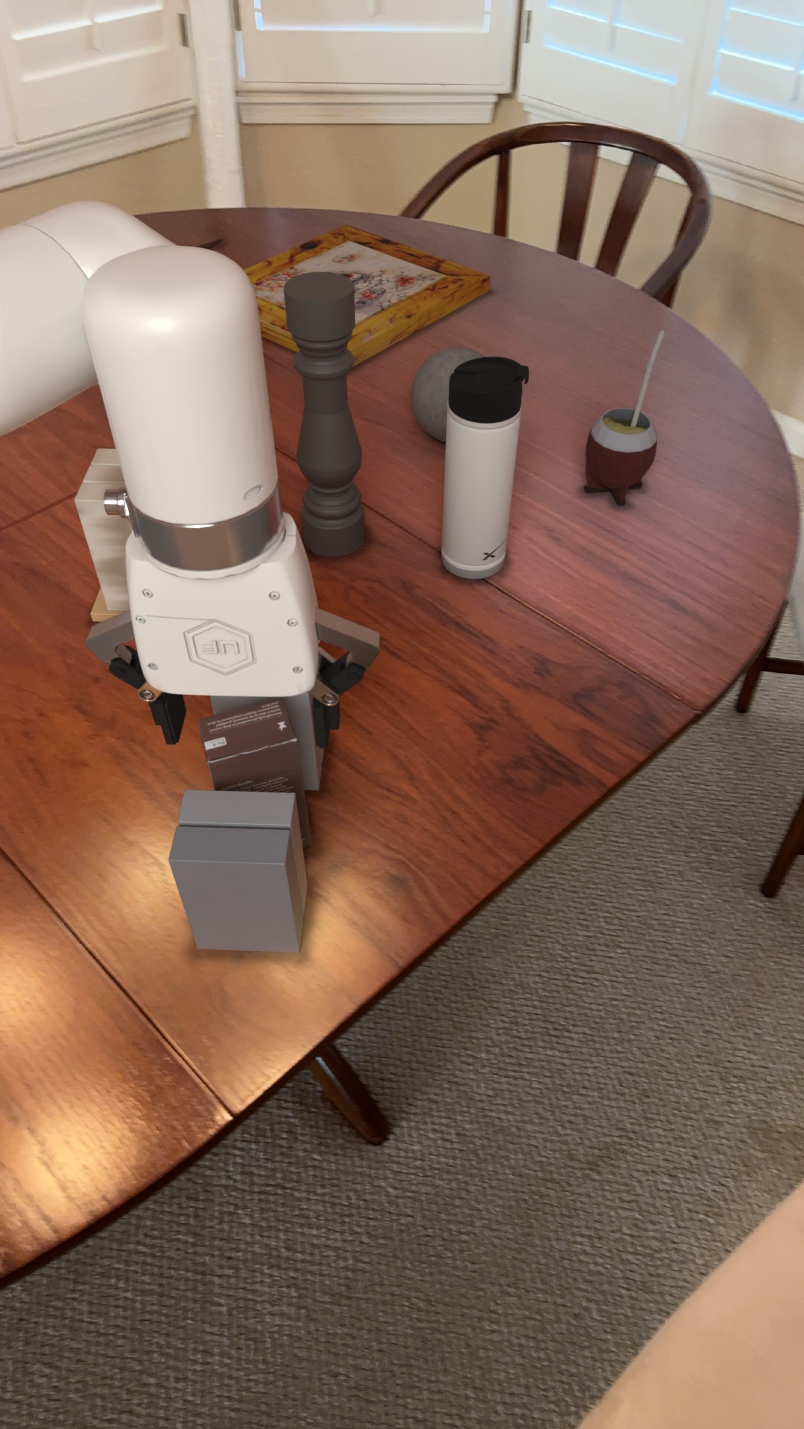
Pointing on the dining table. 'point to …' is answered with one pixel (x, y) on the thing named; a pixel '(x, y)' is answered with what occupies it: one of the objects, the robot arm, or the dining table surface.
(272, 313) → the picture frame
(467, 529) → the travel mug
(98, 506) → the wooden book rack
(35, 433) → the dining table surface
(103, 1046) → the dining table surface
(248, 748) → the box
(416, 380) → the decorative ball
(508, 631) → the dining table surface
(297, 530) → the robot arm
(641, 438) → the mate gourd
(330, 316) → the candle holder
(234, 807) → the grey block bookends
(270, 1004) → the dining table surface
